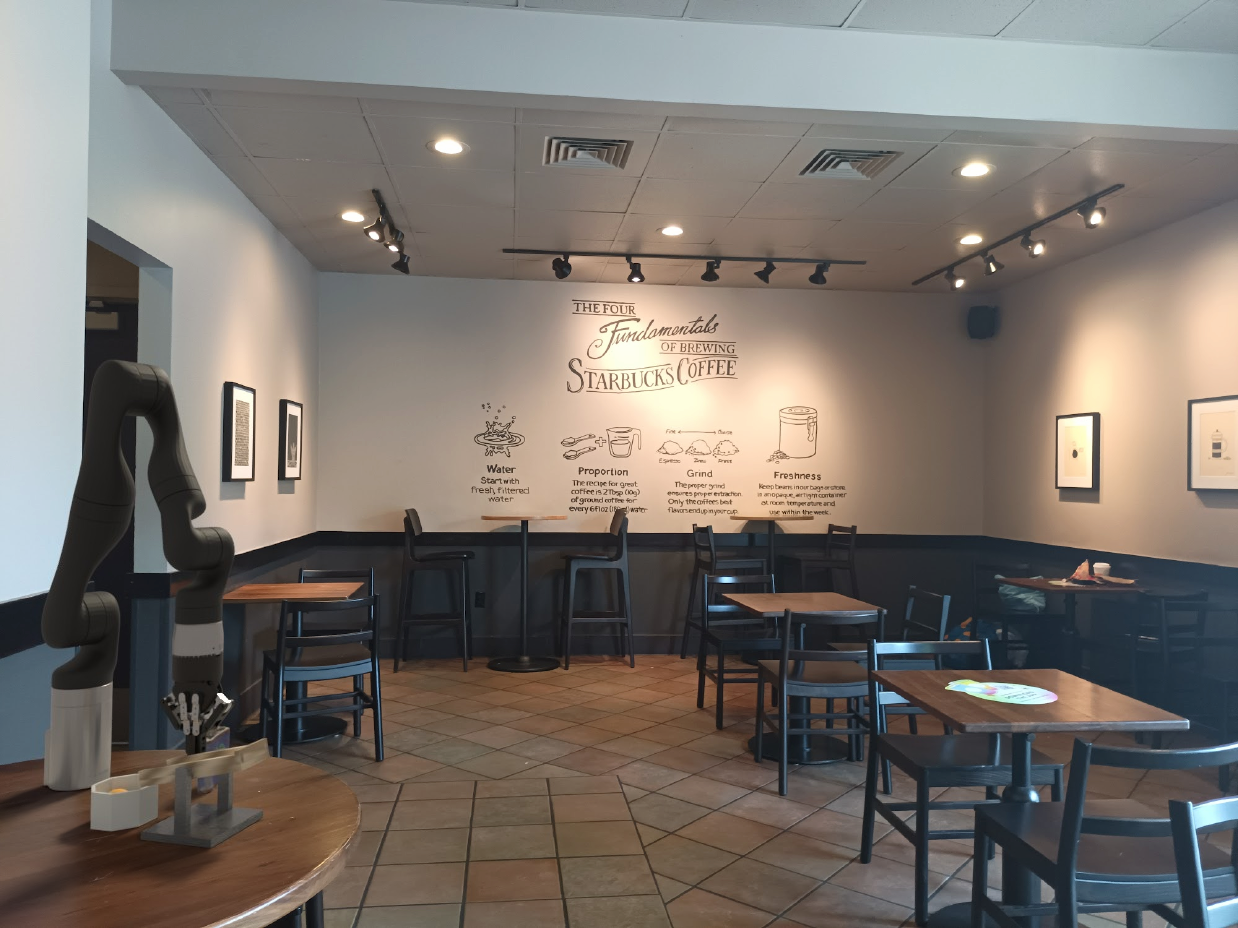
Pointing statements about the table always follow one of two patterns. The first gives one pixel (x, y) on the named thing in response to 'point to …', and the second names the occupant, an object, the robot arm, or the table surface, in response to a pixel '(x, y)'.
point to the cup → (122, 803)
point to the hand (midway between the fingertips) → (195, 756)
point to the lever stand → (201, 815)
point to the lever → (208, 763)
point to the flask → (213, 743)
